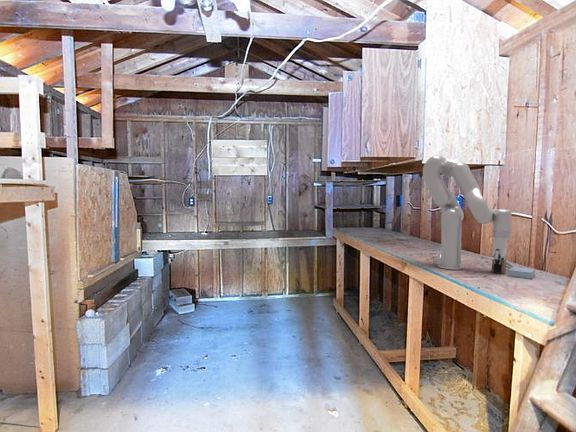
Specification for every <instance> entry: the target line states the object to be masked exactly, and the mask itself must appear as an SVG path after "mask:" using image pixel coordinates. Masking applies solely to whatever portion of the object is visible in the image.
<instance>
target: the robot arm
mask: <svg viewBox="0 0 576 432" xmlns="http://www.w3.org/2000/svg"><path fill="white" fill-rule="evenodd" d="M441 174H442V175H445V176H448V177H452V178H453V180H454V182H455V183H456V186H457V187H458V189H459V191H460V194H461V195H462V197H463V199H464V201H465V202H466V204H467V206H468V208H469V211H470V212H471V214H472V216H473V218H474V219H475V221H476V222H477V223H479V224H481V225H486V224H489V223H492V232H491V233H492V234H491V238H493V239H492V247H491V253H490V254H491V255H490V256H491V258H493V259H494V270H493V271H494V272H493V273H495V272H501V267H502V264H501V259H502V260H504V258H505V257H506V256H507V250H508V239H510V238H511V228H512V227H511V226H512V225H511V224H512V214H513V213H512V210H511V209H506V208H505V209H504V208H501V209H500V208H497V209H493V208H490V207H488V205H487V202H486V200H485V198H484V197H483V195H482V192H481V188H480V186H479V184H478V182H477V180H476V178H475V177H474V174H473V173H472V171H471V169H470V166H469V165H468V164H467V163H466V162H463V161H461V162H460V161H456V160H453V159H449V158H447V157H444V156H441V155H438V154H437V155H432V156H431V157H429V158H428V159H427V160H426V162H425V163H424V165H423V167H422V177H423V180H424V183H425V185H426V187H427V189H428V192H429V193H430V195H431V198H432V200H433V202H434V204H435V205H436V206H438V207H439V208H440V210H441V218H440V222H441V224H440V225H441V236H440V237H441V241H440V242H441V245H440V246H441V248H440V250H441V251H440V257H439V258H438V257H433V258H432V261H433V262H435V263H437V267H438V268H440V269H444V270H451V271H452V270H453V271H455V270H456V271H460V270H464V269H465V265H464V264H462V263H461V262H462V261H461V260H462V259H461V258H462V236H463V235H462V233H463V232H462V230H463V229H462V227H463V226H462V223H463V222H462V221H463V220H464V215H465V214H464V211H463V209H462V207H461V205H460V203H459V201H458V199H457V197H456V195H455V194H454V192H453V191H452V190H450V189H448V187H447V185H446V182H445V181H444V179H443V177H442V175H441ZM499 259H500V261H499Z"/></svg>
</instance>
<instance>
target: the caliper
mask: <svg viewBox="0 0 576 432" xmlns="http://www.w3.org/2000/svg"><path fill="white" fill-rule="evenodd" d="M504 260H506V266H508V267H509V268H511V267H517V266H516V265H514V264H512V263H511V262H510V261H508V260H507V259H506V258H505V257H504Z"/></svg>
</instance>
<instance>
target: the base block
mask: <svg viewBox="0 0 576 432" xmlns="http://www.w3.org/2000/svg"><path fill="white" fill-rule="evenodd" d="M507 271H508V274H507V277H513V278H519V279H527V280H533V279H534V277H536V274H535V269H532V268H527V267H519V266H518V267H517V266H516V267H509V269H508V270H507Z"/></svg>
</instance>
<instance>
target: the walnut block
mask: <svg viewBox="0 0 576 432" xmlns="http://www.w3.org/2000/svg"><path fill="white" fill-rule="evenodd" d="M494 259H495V258H493V259H492V260H491V261H492V262H491V273H497V274H502V275H503V274H505V273H506V268H507V264H506V260H507V259H505V260H502V259H501V264H502V267H501V272H494V271H493V270H494ZM499 261H500V259H499Z"/></svg>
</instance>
